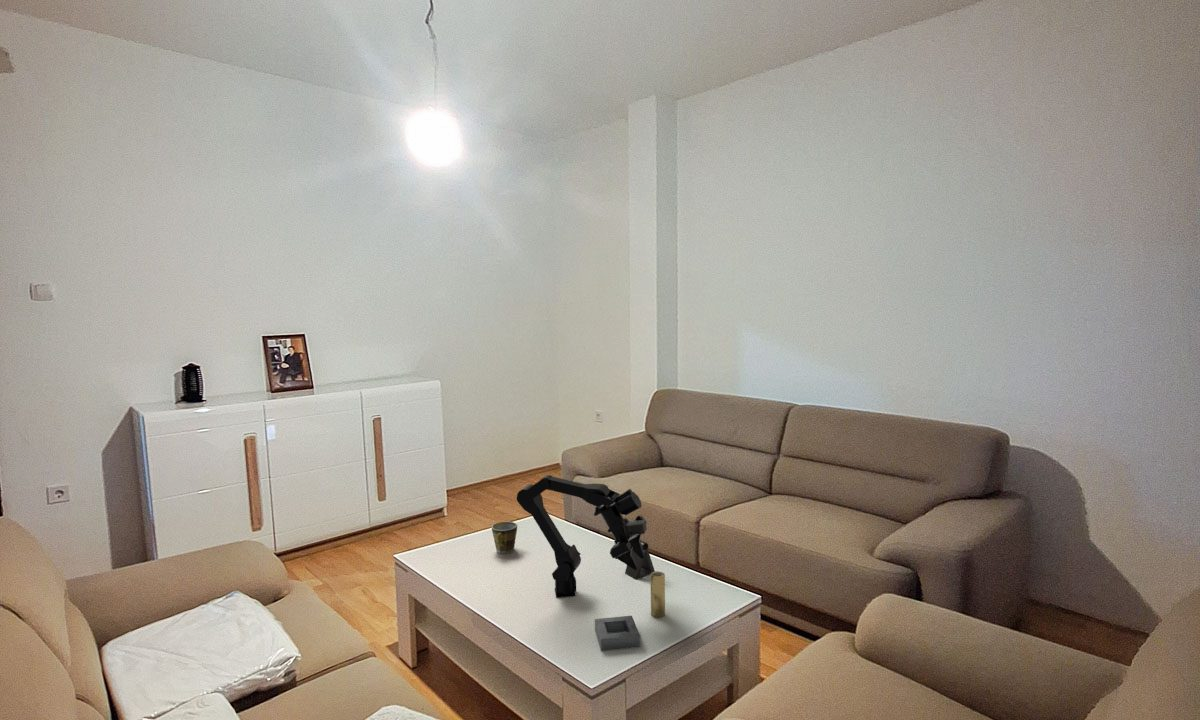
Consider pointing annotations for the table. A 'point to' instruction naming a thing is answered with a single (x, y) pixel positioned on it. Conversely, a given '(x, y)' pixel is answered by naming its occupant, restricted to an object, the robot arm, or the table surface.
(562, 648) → the table surface
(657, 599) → the brass sleeve
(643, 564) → the phone stand
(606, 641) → the jig block
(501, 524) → the ceramic cup
